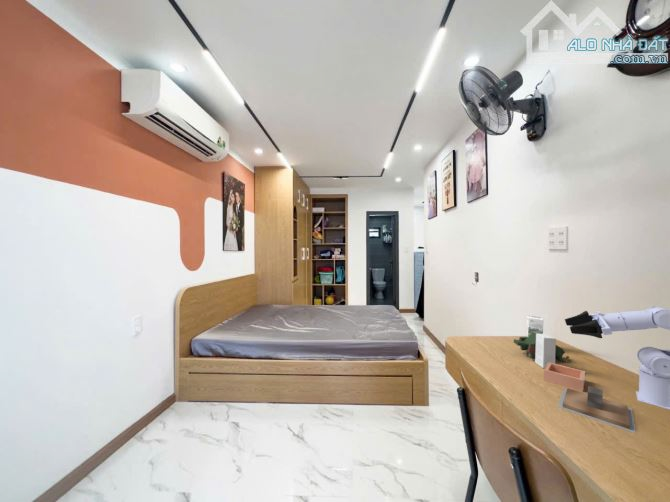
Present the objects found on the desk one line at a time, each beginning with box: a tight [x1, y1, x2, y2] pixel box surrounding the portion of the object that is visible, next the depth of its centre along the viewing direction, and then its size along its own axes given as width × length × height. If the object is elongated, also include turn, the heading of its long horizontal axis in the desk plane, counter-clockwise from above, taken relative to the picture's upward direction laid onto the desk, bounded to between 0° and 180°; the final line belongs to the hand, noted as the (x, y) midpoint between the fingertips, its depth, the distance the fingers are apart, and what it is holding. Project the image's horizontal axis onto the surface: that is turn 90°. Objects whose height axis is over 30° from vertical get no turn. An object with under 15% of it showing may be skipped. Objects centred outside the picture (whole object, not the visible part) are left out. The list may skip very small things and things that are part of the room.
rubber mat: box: [557, 388, 637, 434], centre depth 77 cm, size 15×15×1 cm
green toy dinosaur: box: [513, 332, 570, 363], centre depth 115 cm, size 12×18×12 cm
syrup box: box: [526, 315, 544, 337], centre depth 128 cm, size 6×6×14 cm
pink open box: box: [543, 362, 586, 393], centre depth 93 cm, size 10×10×4 cm
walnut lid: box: [563, 385, 630, 429], centre depth 77 cm, size 13×13×5 cm
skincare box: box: [534, 333, 557, 369], centre depth 106 cm, size 6×4×12 cm
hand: (567, 326), depth 93 cm, fingers open, 7 cm apart
